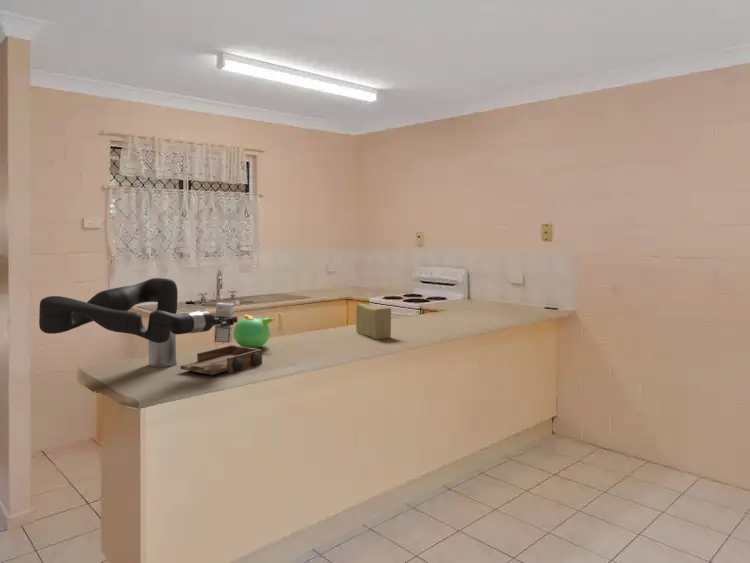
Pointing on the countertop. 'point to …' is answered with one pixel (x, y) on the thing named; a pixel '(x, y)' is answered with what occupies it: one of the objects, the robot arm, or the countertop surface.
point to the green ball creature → (252, 331)
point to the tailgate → (204, 368)
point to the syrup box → (224, 331)
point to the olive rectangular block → (373, 321)
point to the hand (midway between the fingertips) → (228, 318)
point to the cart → (232, 357)
